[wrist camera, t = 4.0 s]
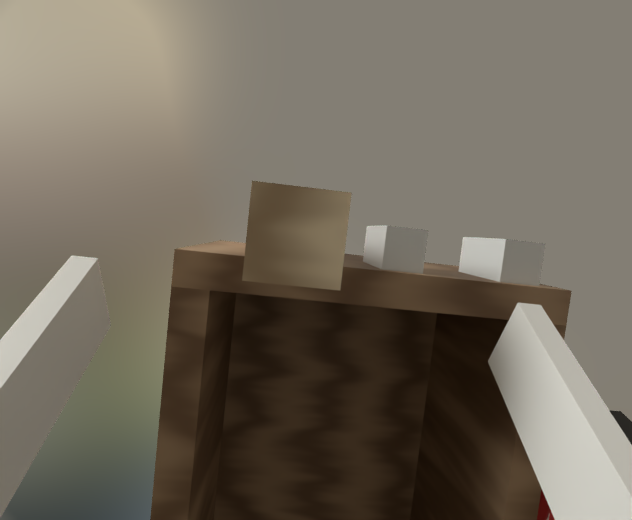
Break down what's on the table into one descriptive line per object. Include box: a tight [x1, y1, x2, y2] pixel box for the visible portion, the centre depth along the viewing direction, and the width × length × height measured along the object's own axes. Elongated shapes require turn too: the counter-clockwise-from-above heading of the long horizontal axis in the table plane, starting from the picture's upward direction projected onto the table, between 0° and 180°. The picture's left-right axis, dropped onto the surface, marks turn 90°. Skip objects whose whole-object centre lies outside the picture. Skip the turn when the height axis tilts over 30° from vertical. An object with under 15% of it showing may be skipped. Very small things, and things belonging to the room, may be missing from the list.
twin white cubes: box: [363, 226, 545, 286], centre depth 28 cm, size 9×6×2 cm, turn 94°
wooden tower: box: [150, 240, 571, 520], centre depth 32 cm, size 22×16×30 cm
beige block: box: [242, 181, 351, 290], centre depth 25 cm, size 6×25×4 cm, turn 4°
